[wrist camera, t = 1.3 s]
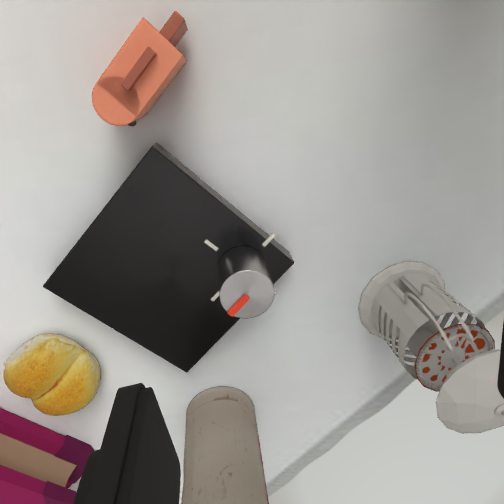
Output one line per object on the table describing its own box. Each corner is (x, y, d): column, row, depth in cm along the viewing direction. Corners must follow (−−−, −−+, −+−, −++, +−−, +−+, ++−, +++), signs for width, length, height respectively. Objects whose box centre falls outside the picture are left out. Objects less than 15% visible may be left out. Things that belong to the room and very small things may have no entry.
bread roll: (64, 410, 42) (51, 441, 39) (-3, 361, 39) (-24, 389, 35) (121, 372, 41) (113, 400, 37) (58, 317, 38) (42, 342, 34)
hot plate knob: (239, 236, 34) (245, 261, 29) (275, 264, 35) (286, 293, 30) (207, 271, 35) (208, 301, 30) (243, 297, 36) (249, 329, 31)
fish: (166, 8, 29) (156, -11, 23) (201, 43, 30) (200, 33, 24) (100, 99, 30) (77, 102, 25) (136, 129, 32) (122, 137, 26)
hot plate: (161, 134, 32) (158, 138, 30) (300, 251, 38) (307, 262, 35) (52, 274, 36) (41, 287, 33) (193, 360, 42) (193, 377, 39)
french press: (376, 353, 44) (561, 639, 21) (338, 275, 39) (522, 535, 16) (455, 314, 43) (738, 570, 20) (426, 230, 38) (750, 439, 16)
